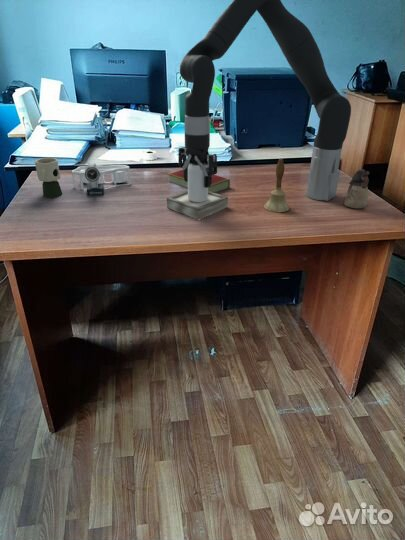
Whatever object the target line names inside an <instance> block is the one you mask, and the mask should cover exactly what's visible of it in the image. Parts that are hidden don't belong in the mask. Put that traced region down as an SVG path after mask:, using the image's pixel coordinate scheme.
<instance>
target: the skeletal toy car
mask: <svg viewBox="0 0 405 540" xmlns="http://www.w3.org/2000/svg"><path fill="white" fill-rule="evenodd" d="M87 166H88V165H82V166H77V168H75V169H73V170H71V177H72V182H73V188H74V189H76V188H77V183H76V178H75V176H79V180H80V187H81V190H84V191H87V190H86V189H87V188H85V187H84V186H85V185H84V184H89V183H88V181H87V179H86V177H85V171H86V168H87ZM96 166H97V169H98V170H99V173H101V175H100V177H99V182H98V184H100V183H103V184H104V183H107V184H109V183H114V184H113V185H103V186H104V187H105V188H104V190H108V189H110V188H111V189H112V188H117V187H120V186H130V185H131V184H132V183H131V173H130V166H129V165H124V164H113V165H112V164H111V165H99V164H98V165H96ZM105 175H110V176H111V181H106V179H105ZM101 177H102V178H101ZM120 183H125V184H120Z"/></svg>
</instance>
